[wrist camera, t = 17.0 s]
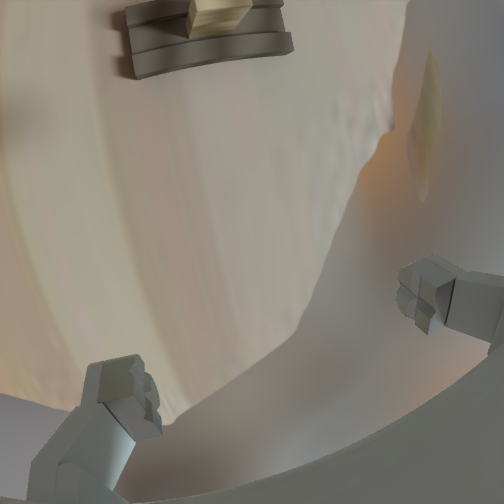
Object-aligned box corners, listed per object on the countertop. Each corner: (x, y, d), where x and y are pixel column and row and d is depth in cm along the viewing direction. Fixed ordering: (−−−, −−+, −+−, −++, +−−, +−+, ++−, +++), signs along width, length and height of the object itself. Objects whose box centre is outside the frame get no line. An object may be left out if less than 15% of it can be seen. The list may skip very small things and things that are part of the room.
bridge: (137, 80, 32) (135, 76, 30) (127, 15, 28) (124, 7, 25) (285, 55, 36) (294, 50, 33) (272, -5, 31) (279, -12, 29)
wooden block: (188, 38, 30) (197, 11, 22) (185, 22, 29) (193, -9, 21) (231, 32, 31) (252, 5, 23) (228, 16, 30) (248, -14, 21)
